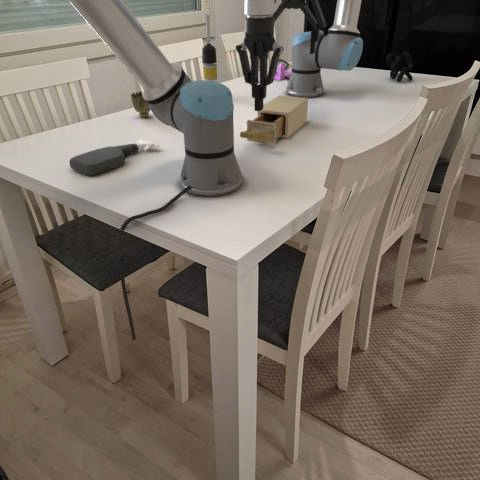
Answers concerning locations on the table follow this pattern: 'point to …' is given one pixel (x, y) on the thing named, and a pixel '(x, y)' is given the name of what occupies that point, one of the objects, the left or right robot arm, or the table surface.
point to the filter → (209, 57)
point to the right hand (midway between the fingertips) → (291, 52)
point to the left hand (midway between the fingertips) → (258, 109)
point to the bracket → (282, 72)
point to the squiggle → (399, 66)
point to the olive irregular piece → (140, 104)
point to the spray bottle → (106, 157)
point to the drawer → (265, 128)
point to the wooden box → (288, 112)
